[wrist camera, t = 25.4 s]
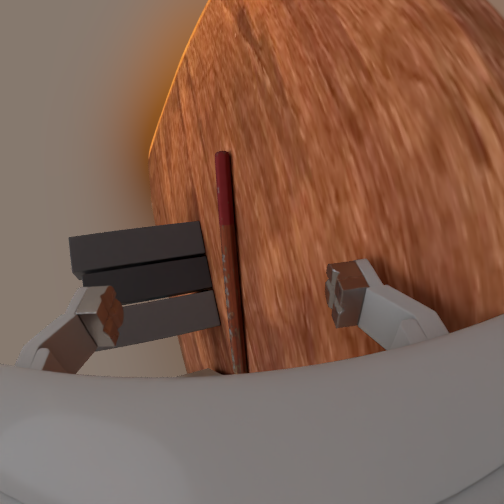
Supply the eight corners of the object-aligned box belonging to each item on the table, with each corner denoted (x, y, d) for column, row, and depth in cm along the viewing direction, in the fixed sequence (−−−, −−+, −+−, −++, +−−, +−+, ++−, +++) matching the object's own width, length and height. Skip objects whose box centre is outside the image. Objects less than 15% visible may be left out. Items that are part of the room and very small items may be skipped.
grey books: (199, 220, 27) (68, 237, 21) (220, 325, 26) (87, 352, 20) (185, 235, 32) (75, 250, 26) (203, 324, 30) (91, 346, 25)
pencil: (225, 152, 21) (212, 152, 20) (231, 149, 20) (218, 149, 19) (245, 389, 23) (234, 393, 23) (251, 395, 22) (240, 399, 22)
